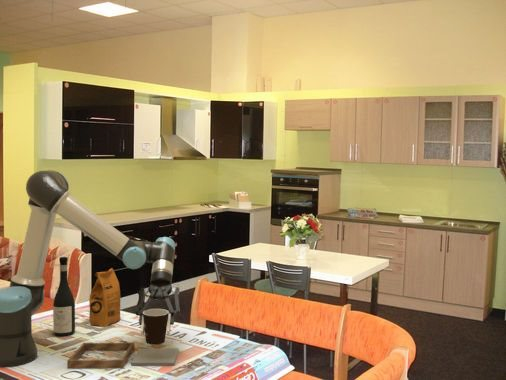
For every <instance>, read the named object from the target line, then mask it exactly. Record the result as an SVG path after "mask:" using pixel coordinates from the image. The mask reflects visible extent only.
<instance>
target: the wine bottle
mask: <svg viewBox="0 0 506 380" xmlns="http://www.w3.org/2000/svg"><path fill="white" fill-rule="evenodd" d="M68 261H69V260H68V257H67V256H62V257H59V276H60V277H59V285H58V288H57V290H56V293H55V296H54V299H53V305H52V310H53V313H52V314H53V315H52V316H53V317H52V318H53V320H52V321H53V334H54V335H55V336H59V337H66V336H70V335H71V336H72V335H73V334H74V333H75V332H76V311H75V310H76V309H75V308H76V304H75V298H74V294H73V292H72V291H71V288H70V285H69V282H68V281H69V280H68Z"/></svg>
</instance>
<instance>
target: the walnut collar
mask: <svg viewBox="0 0 506 380" xmlns="http://www.w3.org/2000/svg"><path fill="white" fill-rule="evenodd" d="M135 346H136V345H135V342H83V343H82V344H81V345H80V346H79V347H78V349H76V350H75V351H74V353H73V354H72V355H71V356H70V357H69V358H68V359H67V361H66V362H67V364H66V365H67V366H66V367H67V369H125V366H126V364H127V363H128V361H129V359H131V356H132V354H133V353H134V351H135V350H136V349H135V348H136V347H135ZM94 350H97V352H98V351H100V352H101V351H103V352H104V351H106V352H107V351H125V353H124V354H123V355H122V357H121V359H120V358H119V359H118V358H117V359H116V358H115V359H111V358H109V359H80V358H81V357H82V355H84V353H85V352H87V351H89V352H91V351H94ZM94 352H95V351H94Z"/></svg>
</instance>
